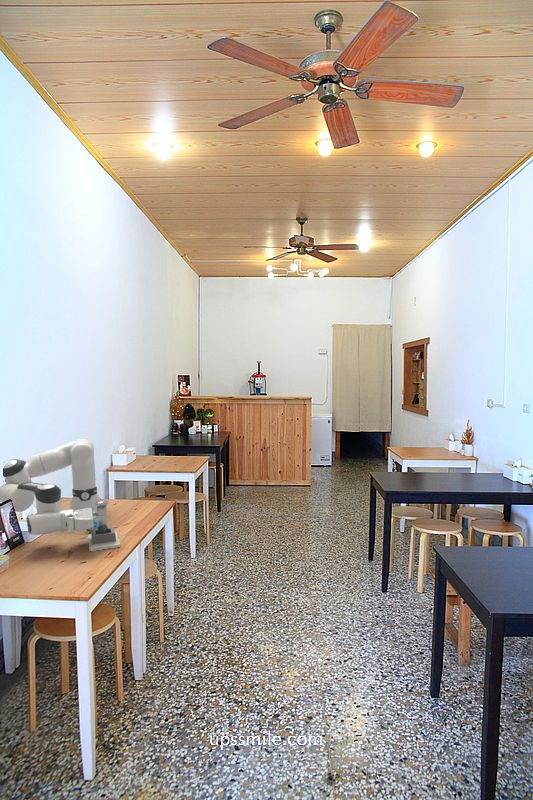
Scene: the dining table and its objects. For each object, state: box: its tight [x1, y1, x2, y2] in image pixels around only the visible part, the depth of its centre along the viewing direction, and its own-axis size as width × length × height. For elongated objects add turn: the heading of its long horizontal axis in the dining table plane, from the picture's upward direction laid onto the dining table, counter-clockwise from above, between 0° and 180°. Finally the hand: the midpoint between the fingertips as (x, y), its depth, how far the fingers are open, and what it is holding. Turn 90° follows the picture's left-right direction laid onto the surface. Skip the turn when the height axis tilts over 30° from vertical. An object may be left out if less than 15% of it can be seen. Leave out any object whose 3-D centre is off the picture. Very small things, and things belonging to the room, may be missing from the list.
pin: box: [94, 499, 109, 534], centre depth 214 cm, size 6×6×13 cm
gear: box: [85, 522, 98, 531], centre depth 233 cm, size 11×6×10 cm
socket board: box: [87, 526, 121, 552], centre depth 215 cm, size 20×12×5 cm, turn 21°
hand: (104, 515), depth 214 cm, fingers closed on pin, 4 cm apart
